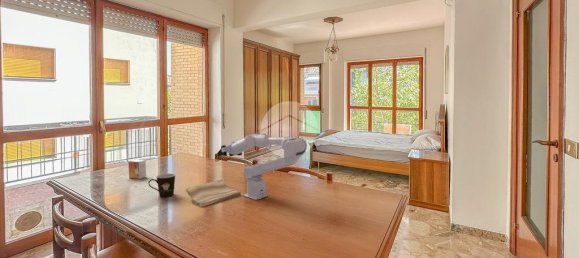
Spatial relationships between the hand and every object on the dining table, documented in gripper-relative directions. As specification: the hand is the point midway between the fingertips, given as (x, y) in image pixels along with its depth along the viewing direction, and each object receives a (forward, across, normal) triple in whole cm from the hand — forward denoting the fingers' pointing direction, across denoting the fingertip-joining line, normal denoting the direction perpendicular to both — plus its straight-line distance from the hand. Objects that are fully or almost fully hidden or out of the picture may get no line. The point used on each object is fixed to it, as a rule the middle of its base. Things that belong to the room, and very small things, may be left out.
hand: (223, 154), depth 155 cm
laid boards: (-2, +11, +22) cm, 25 cm away
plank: (+5, +10, +17) cm, 21 cm away
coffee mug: (+22, +24, +14) cm, 35 cm away
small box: (+63, +16, -6) cm, 65 cm away
